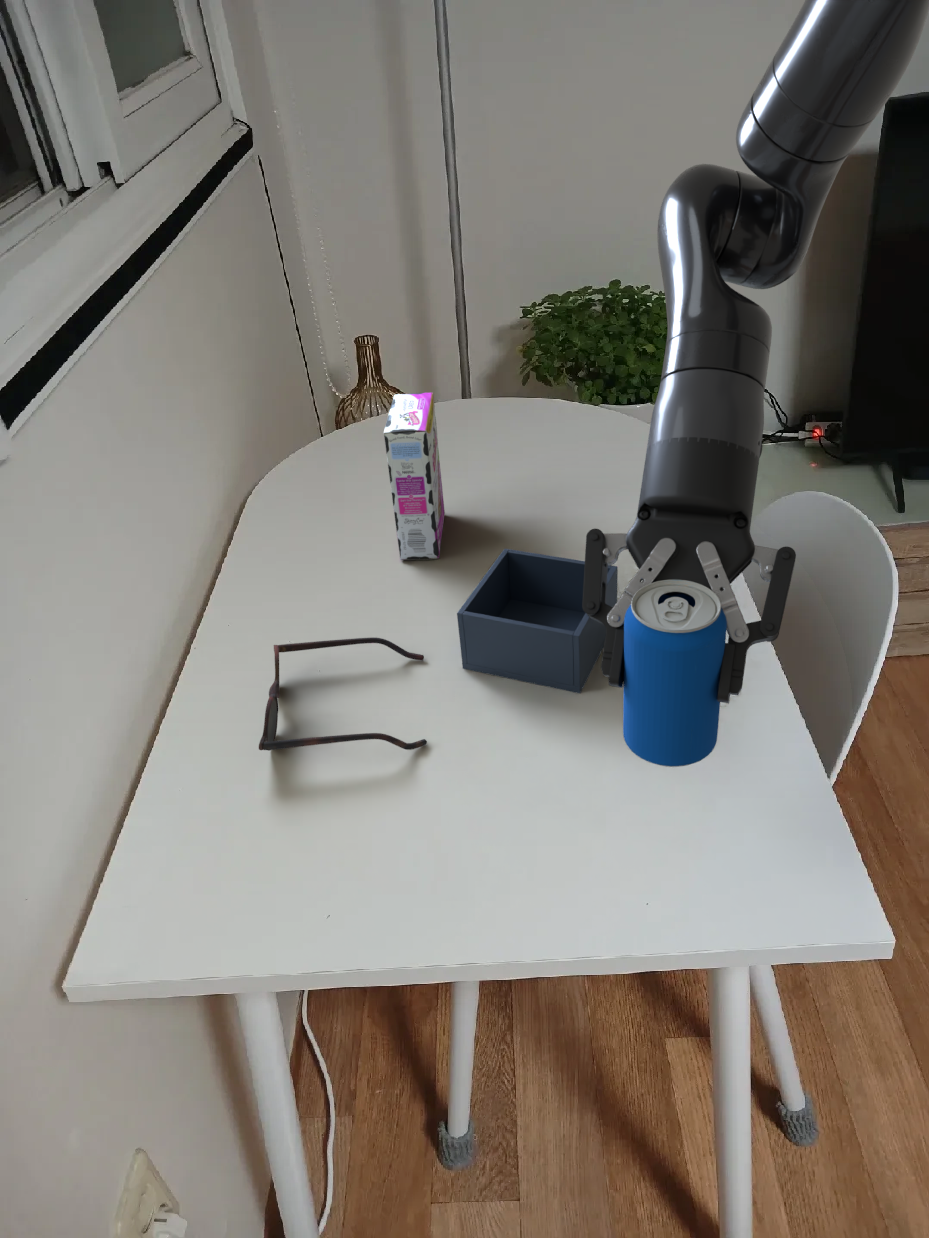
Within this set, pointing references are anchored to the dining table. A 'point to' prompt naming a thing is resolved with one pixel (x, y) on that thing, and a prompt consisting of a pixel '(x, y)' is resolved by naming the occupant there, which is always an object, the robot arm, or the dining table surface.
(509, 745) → the dining table surface
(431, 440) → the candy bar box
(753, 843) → the dining table surface
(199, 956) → the dining table surface
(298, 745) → the eyeglasses
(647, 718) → the beverage can
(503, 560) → the bin
